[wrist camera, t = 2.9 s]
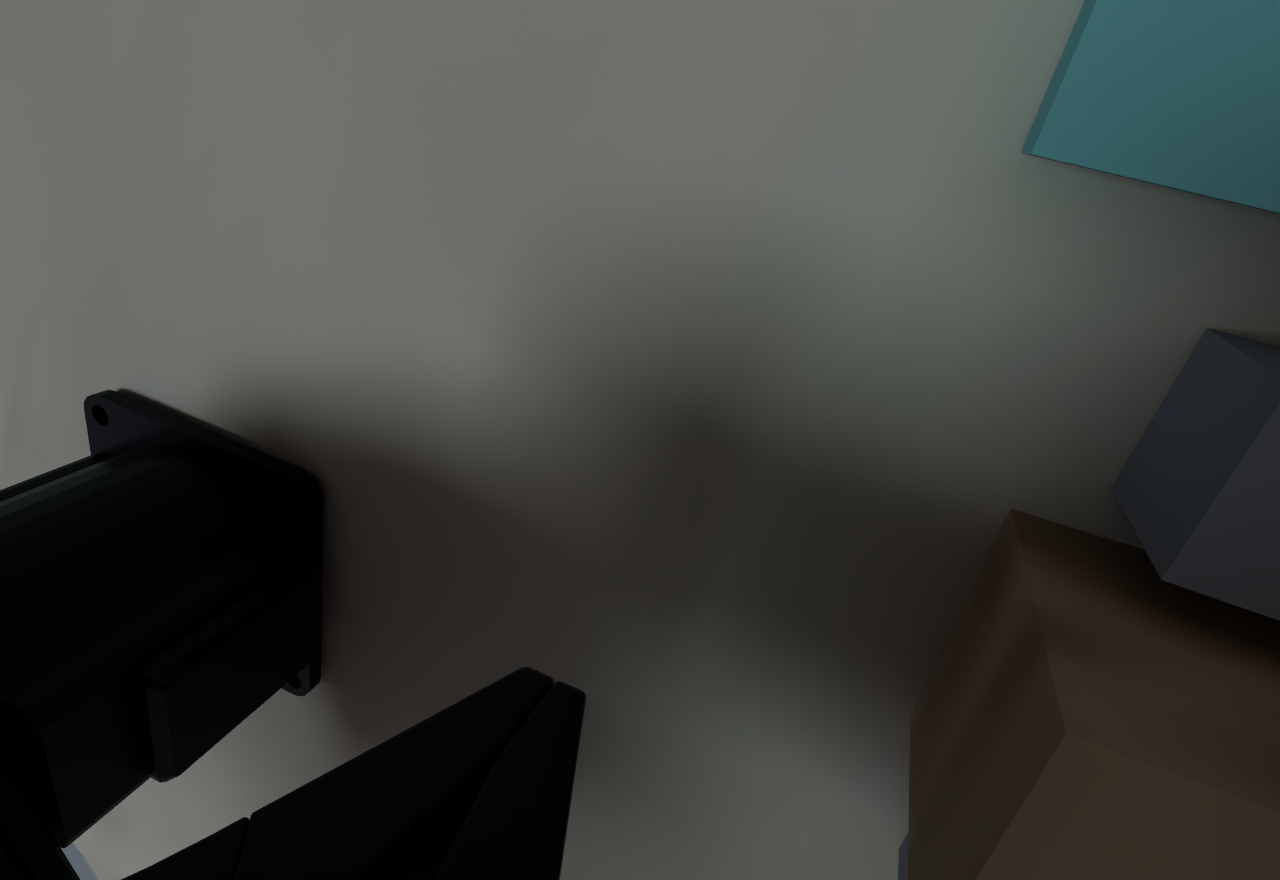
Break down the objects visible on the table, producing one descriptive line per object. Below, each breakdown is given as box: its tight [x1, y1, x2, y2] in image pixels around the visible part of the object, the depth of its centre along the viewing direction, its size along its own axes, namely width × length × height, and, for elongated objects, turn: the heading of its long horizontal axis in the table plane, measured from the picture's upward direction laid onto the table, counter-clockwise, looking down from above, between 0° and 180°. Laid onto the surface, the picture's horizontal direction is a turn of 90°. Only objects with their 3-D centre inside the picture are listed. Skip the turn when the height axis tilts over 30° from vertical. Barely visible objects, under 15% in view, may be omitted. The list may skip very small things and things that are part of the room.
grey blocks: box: [898, 328, 1280, 880], centre depth 10 cm, size 6×11×2 cm, turn 167°
